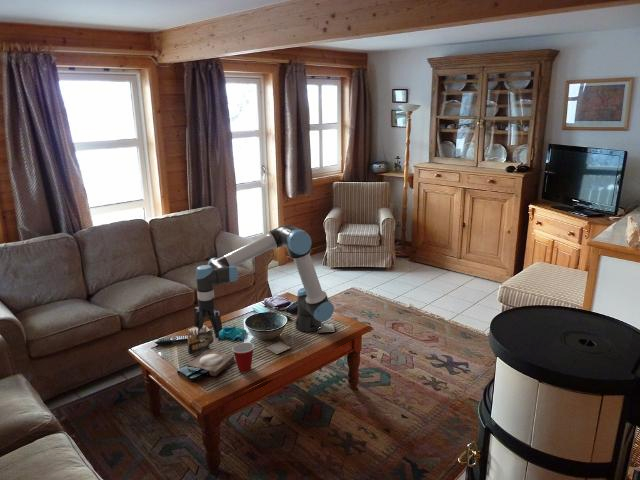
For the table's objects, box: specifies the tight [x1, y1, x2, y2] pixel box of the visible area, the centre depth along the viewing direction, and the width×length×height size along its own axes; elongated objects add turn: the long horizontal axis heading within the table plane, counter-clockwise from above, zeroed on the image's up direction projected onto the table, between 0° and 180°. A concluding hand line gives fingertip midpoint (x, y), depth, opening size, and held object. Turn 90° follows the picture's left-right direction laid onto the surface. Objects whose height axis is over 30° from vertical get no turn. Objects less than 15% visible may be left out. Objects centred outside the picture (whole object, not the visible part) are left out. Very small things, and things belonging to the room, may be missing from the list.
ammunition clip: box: [187, 326, 210, 354], centre depth 248 cm, size 11×2×12 cm, turn 123°
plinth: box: [187, 349, 235, 377], centre depth 235 cm, size 16×16×3 cm
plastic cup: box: [231, 342, 255, 373], centre depth 229 cm, size 11×11×12 cm
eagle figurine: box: [195, 329, 214, 348], centre depth 230 cm, size 8×7×9 cm
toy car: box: [218, 325, 247, 342], centre depth 264 cm, size 11×18×7 cm, turn 84°
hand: (209, 342), depth 232 cm, fingers closed on eagle figurine, 7 cm apart
